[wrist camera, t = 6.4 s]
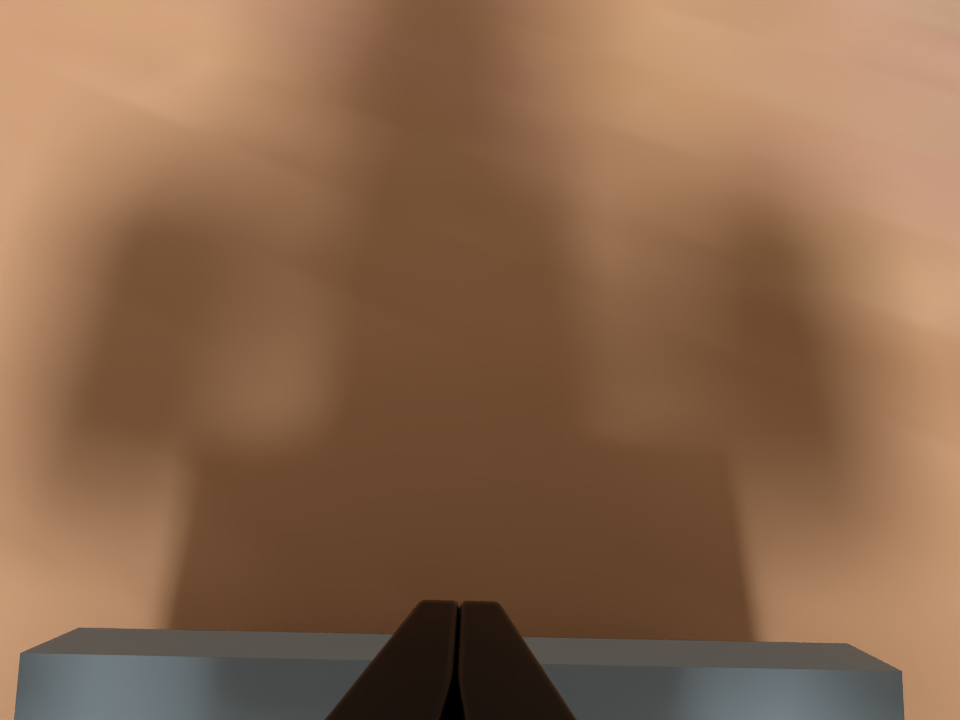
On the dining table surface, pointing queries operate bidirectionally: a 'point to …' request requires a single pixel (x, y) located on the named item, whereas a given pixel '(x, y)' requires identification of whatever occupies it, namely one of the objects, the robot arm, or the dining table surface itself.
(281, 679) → the grey rectangular slab
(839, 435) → the dining table surface
